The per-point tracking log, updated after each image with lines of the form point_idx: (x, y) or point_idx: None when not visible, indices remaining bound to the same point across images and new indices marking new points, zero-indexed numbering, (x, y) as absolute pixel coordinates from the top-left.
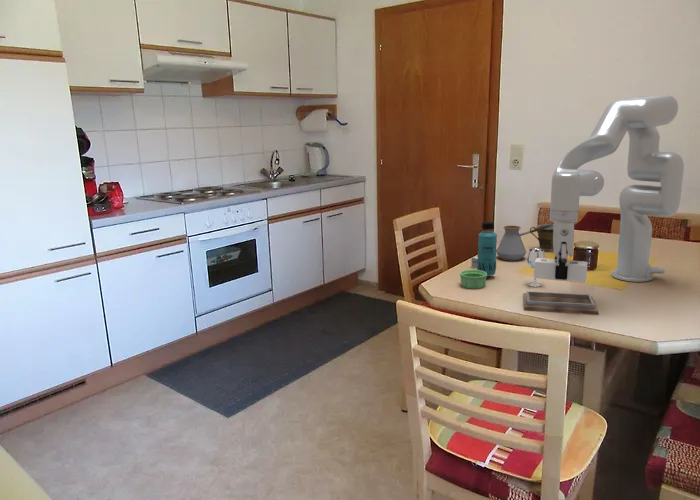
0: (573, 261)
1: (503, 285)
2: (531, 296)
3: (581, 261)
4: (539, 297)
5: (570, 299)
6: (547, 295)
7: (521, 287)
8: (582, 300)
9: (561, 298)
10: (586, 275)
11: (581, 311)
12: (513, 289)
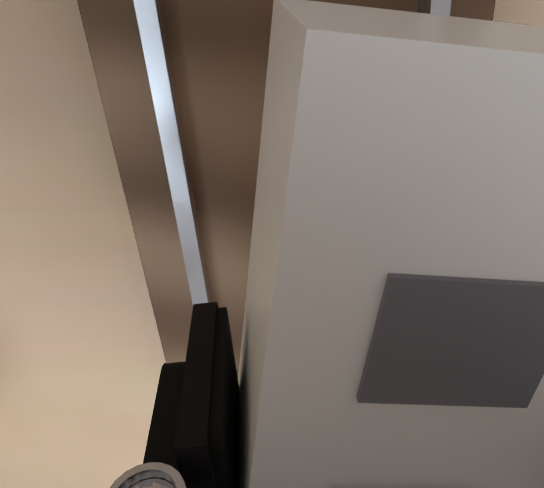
0: (374, 358)
1: (17, 483)
2: (236, 356)
3: (303, 198)
4: (243, 315)
5: (224, 110)
6: (206, 277)
7: (3, 408)
8: (223, 2)
9: (219, 179)
10: (344, 8)
11: (486, 19)
12: (70, 437)
